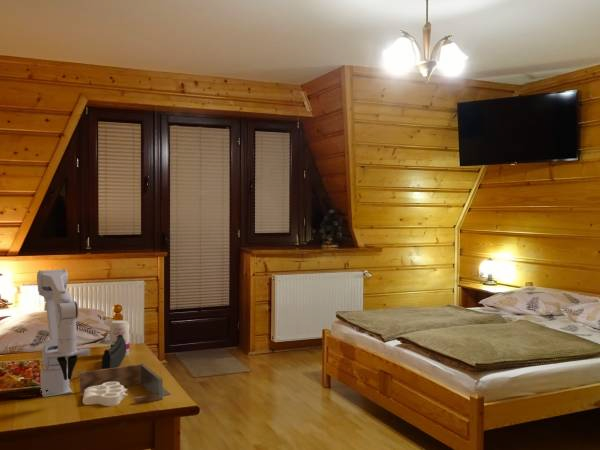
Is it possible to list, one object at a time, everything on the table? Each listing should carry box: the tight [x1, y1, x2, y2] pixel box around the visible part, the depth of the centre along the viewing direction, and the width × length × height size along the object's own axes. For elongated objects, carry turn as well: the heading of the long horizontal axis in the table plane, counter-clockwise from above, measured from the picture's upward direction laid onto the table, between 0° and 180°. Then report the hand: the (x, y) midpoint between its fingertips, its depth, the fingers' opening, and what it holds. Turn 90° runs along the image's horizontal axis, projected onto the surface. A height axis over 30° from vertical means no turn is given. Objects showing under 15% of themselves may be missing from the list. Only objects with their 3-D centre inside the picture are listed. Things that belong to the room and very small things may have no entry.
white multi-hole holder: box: [82, 382, 129, 407], centre depth 202 cm, size 3×18×15 cm
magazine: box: [100, 335, 126, 370], centre depth 239 cm, size 17×3×30 cm
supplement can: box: [109, 319, 131, 357], centre depth 260 cm, size 8×8×15 cm
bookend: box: [140, 363, 172, 401], centre depth 211 cm, size 5×23×7 cm, turn 31°
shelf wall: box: [79, 363, 159, 405], centre depth 204 cm, size 23×23×7 cm
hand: (67, 378), depth 195 cm, fingers closed
